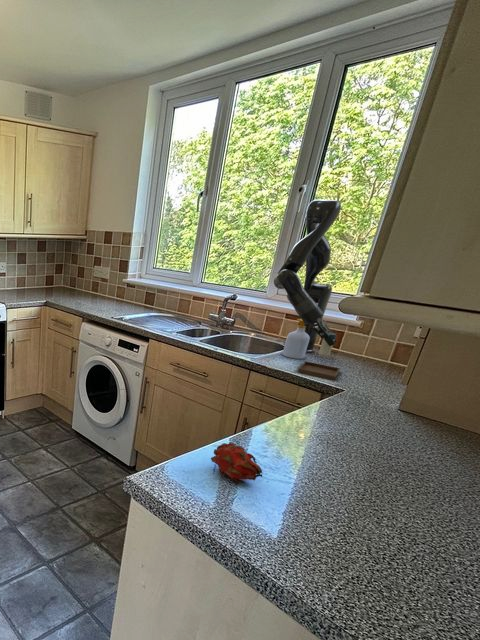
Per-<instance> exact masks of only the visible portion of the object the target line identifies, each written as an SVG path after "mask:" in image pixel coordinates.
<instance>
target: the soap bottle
mask: <svg viewBox="0 0 480 640" xmlns="http://www.w3.org/2000/svg"><path fill="white" fill-rule="evenodd" d="M299 321H300V322H299ZM296 322H298V323H300V325H298V324H297V327H296V330H293V331H291V332H289V333H287V336H286V340H285V343H284V346H283V350H282V355H283V356H284V357H286V358H289V359H296V360H302V359H304V358H305V357H306V356H305V355H306V353H307V352H306V349H307V346H308V343H309V339H310V337H309V335H308V334H307V333H305V326H304V324H305V323H304V322H303V320H302V319H300V318H297V319H296Z"/></svg>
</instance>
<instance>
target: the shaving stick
mask: <svg viewBox="0 0 480 640" xmlns="http://www.w3.org/2000/svg"><path fill="white" fill-rule="evenodd" d="M324 334H325V333H324ZM328 334H329V335H330V337H331V338H332V339H333V341H335V340H337V339H336V338H337V333H333V332H331V333H328ZM333 346H334V345H332V346H329V345H328V344H327V342H326V341H325V340H324V339H323V338H322V340H321V344H320V348H319V350H318V354H319V355H320V356H326V357H329V356H330V355H331V353H332V349H333Z"/></svg>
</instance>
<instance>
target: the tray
mask: <svg viewBox="0 0 480 640" xmlns="http://www.w3.org/2000/svg"><path fill="white" fill-rule="evenodd" d="M340 370H341V368H340V367H336V366H331V365H327V364H322V363H316V362H312V361H307V360H305V361H304V362H303V363H302V364H301V365H300V366H299V368H298V370H297V373H299V374H302V375H303V374H304V375H309V376H312V377H317V378H322V379H327V380H332V381H336V379H337V377H338V375H339V373H340Z"/></svg>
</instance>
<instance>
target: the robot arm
mask: <svg viewBox="0 0 480 640" xmlns="http://www.w3.org/2000/svg"><path fill="white" fill-rule="evenodd" d="M341 209H342V204H341V202H340V201H339V200H335V199H314V200H312V201H310V202H309V204H308V206H307V207H306V212H305V226H306V227H305V228H306V236H304V237H303V238H302V239H300V240H299V241H298V242H296V244H295V245H294V246H293V247H292V249H291V251H290V252H289V254H288V256H287V258H286V259H285V261H284V263H283V265H282V266H281V268H280V269H278V270H279V271H278V272H277V273H276V274H275V276H274V279H273V285H274V287H275V288H276V289H277V290H284V291H285V292H286V298H287V300H288V302H289V303H290V305H292V307H293V309H294V311H295V312H296V313H297V315H298V316H299V319H302V320H303V322H304V323H305V324H304V326H305V333H307V334H308V335H309V337H310V339H309V343H308V346H307V349H306V353H313V351H314V348H315V345H316V341H317V338H318V336H319V337H320V338H321V339H322V340H323V339H324V340H325V341H326V342H327V344H328V345H329V346H332V345H333V346H334V345H335V344H336V343H337V339H335V341H333V339H332V338H331V337H330V335H329V334H328V333H332V330H331V328H330V327H329V326H328V324H327V323H326V321H325V320H323V318H324V315H325V312H326V309H327V306H328V303H329V301H330V299H331V297H332V296H331V295H332V292H333V287H332V285H330V284H324V283H317V282H315V281H316V278H317V276H318V275H319V274H320V273H321V272H323V270H324V269H326V267H327V266H328V265H329V264H330V261H331V254H332V253H331V252H332V247H331V244H330V242H329V240H328V239H327V237H326V236H325V234H327V232H328V231H329V230H330V228H331V227H332V225H333V224H334V223H335V222H336V220H337V219H338V218H339V216H340V212H341ZM304 265H305V276H304V284H303V283H302V281H301V279H300V276H299V275H298V272H299V271H300V269H301V268H302V267H303V266H304ZM299 322H300V321H298V324H297V326H298V325H300V323H299ZM324 333H325V334H324Z"/></svg>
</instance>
